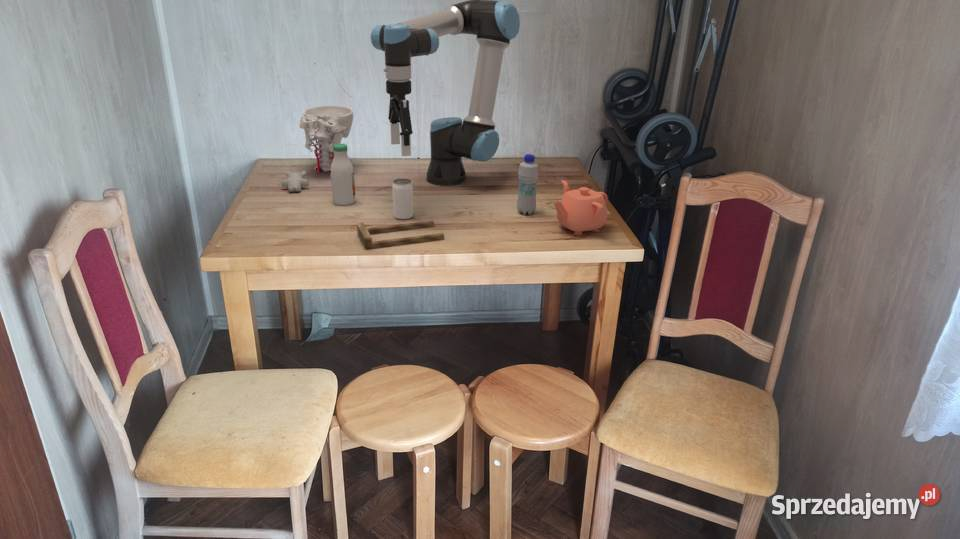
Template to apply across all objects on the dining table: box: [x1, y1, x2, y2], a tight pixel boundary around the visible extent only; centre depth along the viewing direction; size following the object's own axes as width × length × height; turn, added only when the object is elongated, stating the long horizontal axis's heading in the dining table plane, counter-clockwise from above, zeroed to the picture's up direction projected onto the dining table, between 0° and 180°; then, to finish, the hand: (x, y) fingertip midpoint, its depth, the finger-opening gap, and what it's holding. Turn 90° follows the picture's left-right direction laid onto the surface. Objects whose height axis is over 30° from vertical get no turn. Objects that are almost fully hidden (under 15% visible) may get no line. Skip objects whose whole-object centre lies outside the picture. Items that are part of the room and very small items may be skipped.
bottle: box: [516, 153, 540, 216], centre depth 211 cm, size 7×7×20 cm
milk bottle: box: [330, 143, 356, 206], centre depth 217 cm, size 8×8×20 cm
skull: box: [299, 105, 354, 174], centre depth 245 cm, size 25×19×23 cm
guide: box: [356, 220, 445, 250], centre depth 194 cm, size 24×12×4 cm, turn 111°
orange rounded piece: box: [553, 179, 608, 237], centre depth 202 cm, size 16×17×14 cm
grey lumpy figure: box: [280, 169, 310, 193], centre depth 233 cm, size 10×5×15 cm
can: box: [391, 178, 414, 220], centre depth 208 cm, size 6×6×12 cm
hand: (400, 149), depth 200 cm, fingers open, 13 cm apart
